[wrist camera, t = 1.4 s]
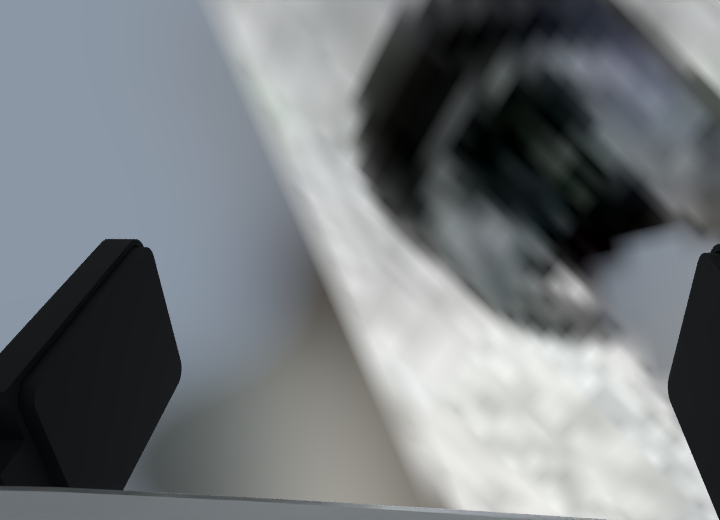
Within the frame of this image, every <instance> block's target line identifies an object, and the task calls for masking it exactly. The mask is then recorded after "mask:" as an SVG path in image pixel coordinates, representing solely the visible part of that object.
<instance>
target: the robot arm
mask: <svg viewBox="0 0 720 520" xmlns="http://www.w3.org/2000/svg"><path fill="white" fill-rule="evenodd" d="M180 377H181V360H180V356H179V353H178V349H177V345H176V341H175V337H174V333H173V329H172V325H171V321H170V318H169V314H168V310H167V306H166V302H165V299H164V294H163V291H162V287H161V283H160V279H159V275H158V271H157V267H156V263H155V259H154V256H153V253H152V251H151V250H150V248H148V247H143V244H142V243H141V242H140V241H139V240H137V239H105V240H104V241H103V242H101V244H100V245H99V246H98V247H97V248H96V249H95V250H94V251H93V252H92V253H91V254H90V256H89V257H88V258H87V259H86V260H85V261H84V262H83V263H82V264H81V266H80V267H79V268H78V269H77V270H76V271H75V272H74V273H73V274H72V275H71V276H70V277H69V279H68V280H67V281H66V282H65V283H64V284H63V285H62V286H61V287H60V288H59V289H58V290H57V292H56V293H55V294H54V295H53V296H52V297H51V298H50V299H49V300H48V301H47V303H46V304H45V305H44V306H43V307H42V308H41V309H40V310H39V311H38V312H37V314H36V315H35V316H34V317H33V318H32V319H31V320H30V321H29V322H28V323H27V324H26V325H25V327H24V328H23V329H22V330H21V331H20V332H19V333H18V334H17V335H16V336H15V337H14V339H13V340H12V341H11V342H10V343H9V344H8V345H7V346H6V347H5V348H4V350H3V351H2V352H1V353H0V520H605V519H590V518H575V517H560V516H545V515H530V514H515V513H499V512H484V511H469V510H452V509H436V508H420V507H403V506H387V505H370V504H353V503H338V502H321V501H304V500H303V501H302V500H287V499H270V498H251V497H234V496H216V495H215V496H213V495H197V494H179V493H160V492H142V491H124V490H123V489H124V487H125V485H126V483H127V481H128V479H129V478H130V475H131V474H132V472H133V470H134V468H135V466H136V464H137V462H138V460H139V458H140V456H141V454H142V452H143V451H144V449H145V447H146V445H147V443H148V441H149V439H150V437H151V435H152V433H153V431H154V429H155V427H156V426H157V423H158V422H159V419H160V418H161V416H162V414H163V412H164V410H165V408H166V406H167V404H168V402H169V400H170V399H171V396H172V395H173V393H174V391H175V389H176V387H177V385H178V383H179V380H180ZM668 394H669V399H670V402H671V404H672V407H673V409H674V412H675V414H676V416H677V419H678V421H679V424H680V426H681V428H682V431H683V433H684V436H685V438H686V441H687V443H688V445H689V448H690V450H691V453H692V455H693V457H694V460H695V462H696V465H697V467H698V470H699V472H700V474H701V477H702V479H703V482H704V484H705V486H706V489H707V491H708V494H709V496H710V499H711V501H712V503H713V506H714V508H715V511H716V513H717V515H718V518H719V520H720V244H717V245H715V246H714V247H713V249H712V250H711V253H703V254H701V256H700V257H699V260H698V263H697V267H696V271H695V275H694V279H693V283H692V288H691V291H690V295H689V299H688V303H687V307H686V311H685V315H684V319H683V323H682V327H681V331H680V335H679V339H678V343H677V347H676V351H675V355H674V359H673V363H672V367H671V371H670V375H669V380H668Z"/></svg>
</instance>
